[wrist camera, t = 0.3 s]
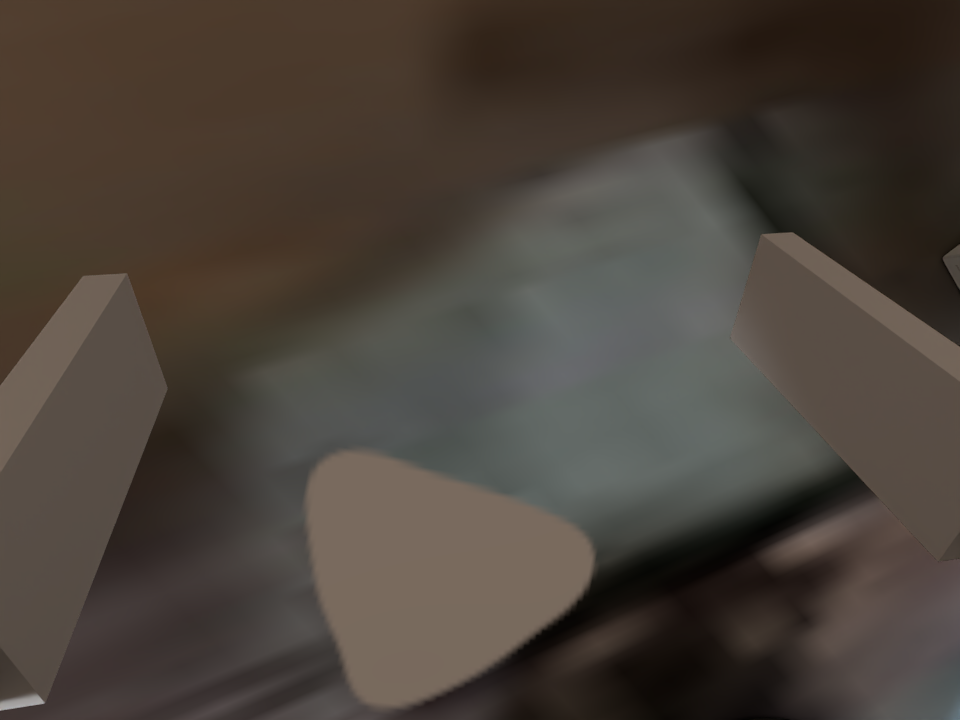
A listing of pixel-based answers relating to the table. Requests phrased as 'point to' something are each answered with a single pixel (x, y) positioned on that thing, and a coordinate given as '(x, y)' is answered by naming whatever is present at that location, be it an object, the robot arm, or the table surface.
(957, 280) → the small box
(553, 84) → the table surface
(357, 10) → the table surface
